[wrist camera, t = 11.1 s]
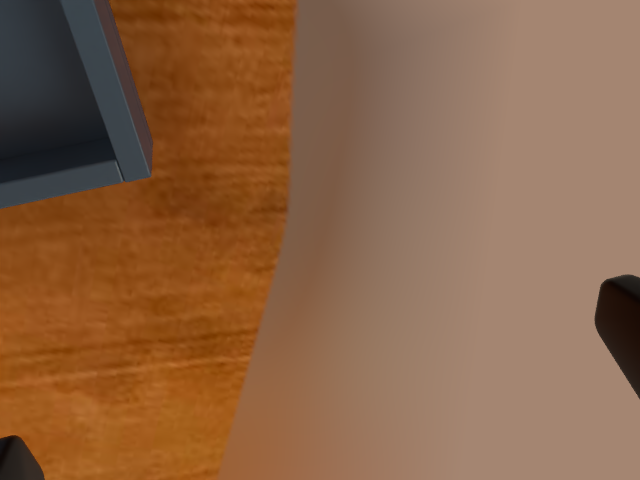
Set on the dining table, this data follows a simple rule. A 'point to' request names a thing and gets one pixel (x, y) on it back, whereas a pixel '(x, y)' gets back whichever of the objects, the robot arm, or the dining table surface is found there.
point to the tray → (66, 102)
